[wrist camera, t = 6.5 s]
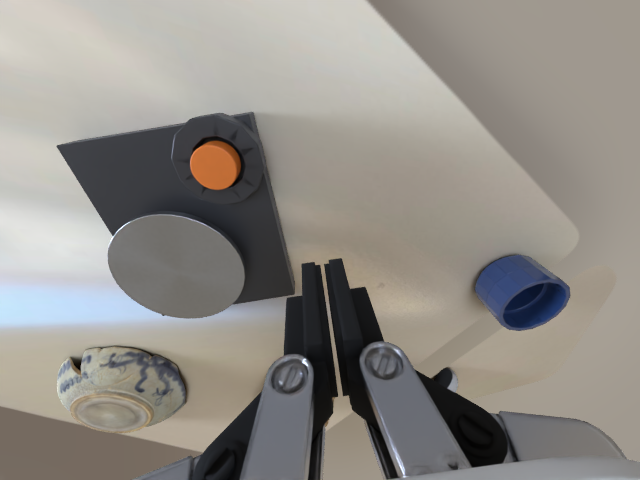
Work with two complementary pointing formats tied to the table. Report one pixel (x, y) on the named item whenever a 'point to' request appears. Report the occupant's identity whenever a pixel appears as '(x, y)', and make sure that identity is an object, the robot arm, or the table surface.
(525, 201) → the table surface
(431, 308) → the table surface
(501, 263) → the small bowl
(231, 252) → the silver metal disc
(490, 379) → the table surface
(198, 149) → the button
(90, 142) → the scale
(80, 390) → the decorative bowl
